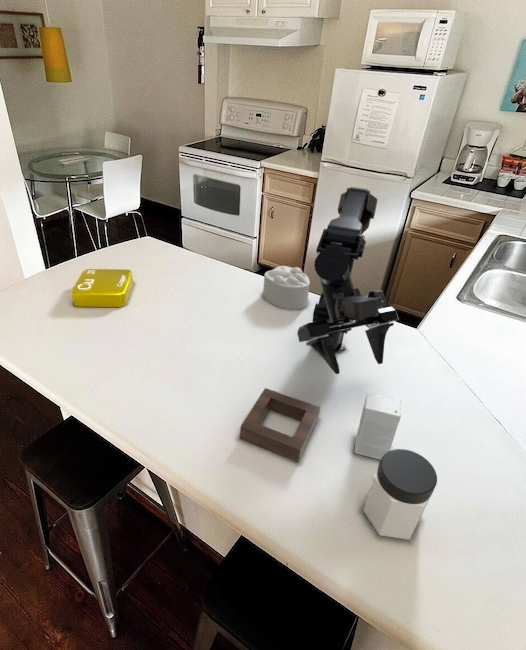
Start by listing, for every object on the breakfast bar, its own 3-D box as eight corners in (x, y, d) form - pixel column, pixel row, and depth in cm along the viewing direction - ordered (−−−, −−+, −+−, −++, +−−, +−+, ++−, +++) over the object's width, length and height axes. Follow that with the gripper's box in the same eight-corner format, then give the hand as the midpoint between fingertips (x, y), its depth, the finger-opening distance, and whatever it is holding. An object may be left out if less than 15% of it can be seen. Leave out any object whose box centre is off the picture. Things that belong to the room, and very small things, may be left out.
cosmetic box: (387, 445, 85) (402, 400, 78) (386, 462, 82) (401, 417, 75) (355, 436, 87) (366, 392, 80) (352, 453, 83) (364, 408, 77)
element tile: (125, 307, 124) (123, 293, 122) (72, 307, 124) (68, 292, 122) (134, 281, 137) (133, 267, 134) (86, 280, 137) (83, 267, 134)
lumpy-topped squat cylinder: (282, 284, 136) (284, 258, 131) (315, 301, 128) (319, 274, 123) (258, 296, 130) (259, 270, 125) (292, 314, 122) (295, 287, 117)
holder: (264, 399, 95) (265, 387, 93) (318, 419, 90) (320, 407, 88) (239, 438, 86) (240, 426, 84) (298, 462, 82) (300, 450, 80)
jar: (378, 483, 78) (394, 438, 71) (425, 511, 74) (446, 465, 67) (355, 520, 72) (369, 474, 66) (404, 552, 68) (424, 506, 61)
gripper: (311, 285, 75) (335, 375, 73) (404, 269, 80) (429, 353, 77) (287, 301, 85) (307, 380, 83) (371, 286, 90) (392, 360, 88)
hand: (359, 368), depth 83 cm, fingers open, 9 cm apart
